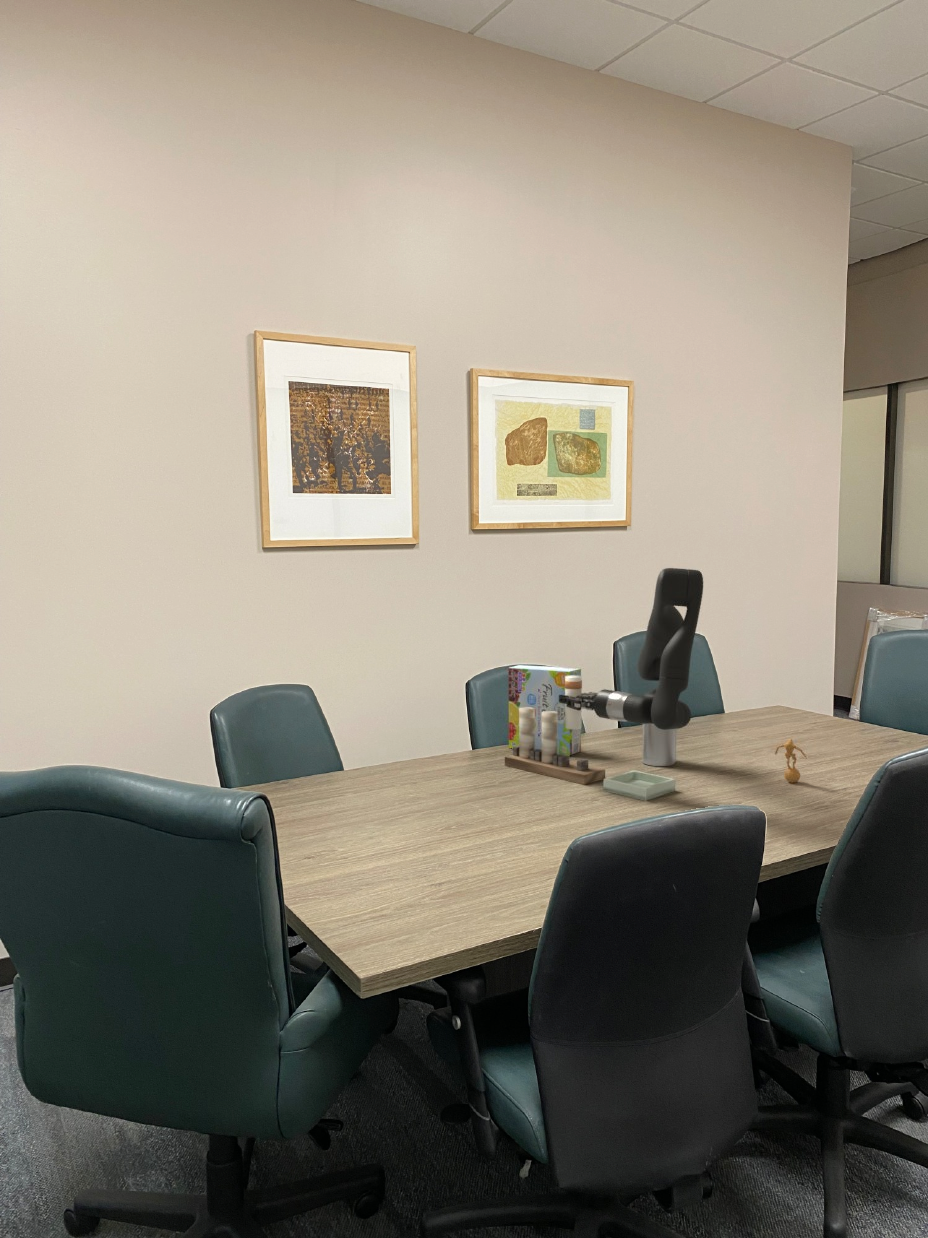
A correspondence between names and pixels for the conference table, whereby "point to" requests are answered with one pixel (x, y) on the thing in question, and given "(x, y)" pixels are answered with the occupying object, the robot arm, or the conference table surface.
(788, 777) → the figurine
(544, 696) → the snack box
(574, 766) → the rail
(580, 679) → the marked fuse
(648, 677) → the robot arm
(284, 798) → the conference table surface
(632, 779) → the tray
